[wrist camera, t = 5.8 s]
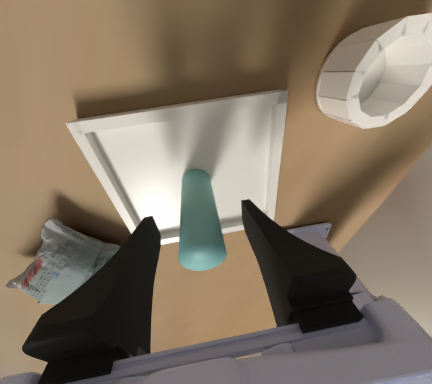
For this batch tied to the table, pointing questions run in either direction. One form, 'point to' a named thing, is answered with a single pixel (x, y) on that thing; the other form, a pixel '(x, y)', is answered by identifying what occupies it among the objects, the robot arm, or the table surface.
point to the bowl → (377, 72)
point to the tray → (188, 156)
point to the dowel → (199, 224)
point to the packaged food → (62, 263)
